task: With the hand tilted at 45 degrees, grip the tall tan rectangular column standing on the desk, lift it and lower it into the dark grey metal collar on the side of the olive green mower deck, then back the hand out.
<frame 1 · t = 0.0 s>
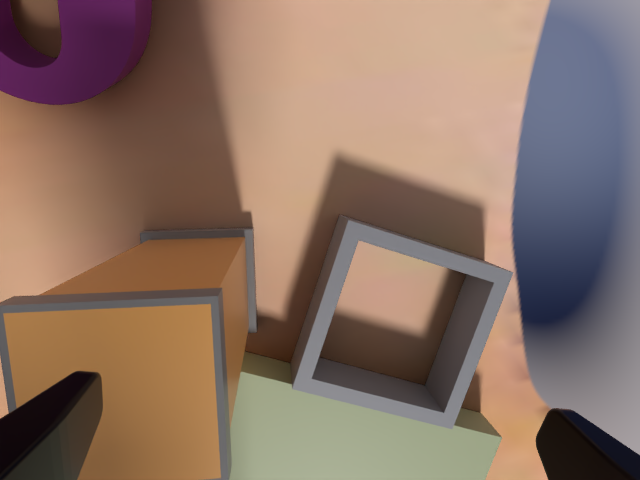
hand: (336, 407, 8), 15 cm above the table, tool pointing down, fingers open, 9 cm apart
tan rectangular column: (202, 280, 23), on the table
mower deck: (388, 311, 24), on the table
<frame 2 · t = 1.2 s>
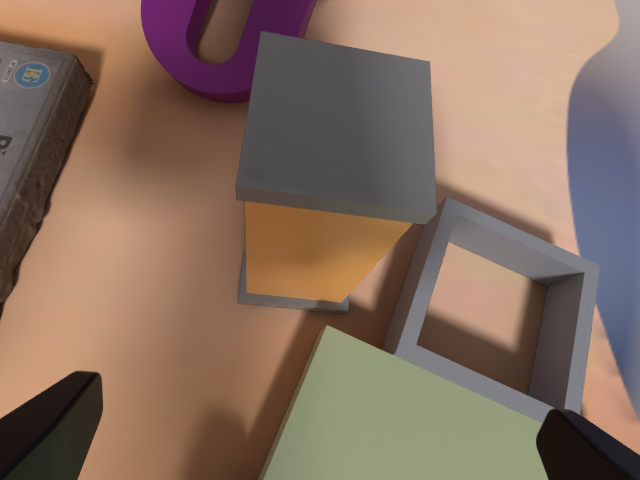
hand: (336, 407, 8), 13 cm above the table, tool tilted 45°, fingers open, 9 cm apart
tan rectangular column: (297, 258, 23), on the table
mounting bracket: (251, 16, 30), on the table
mower deck: (476, 317, 24), on the table
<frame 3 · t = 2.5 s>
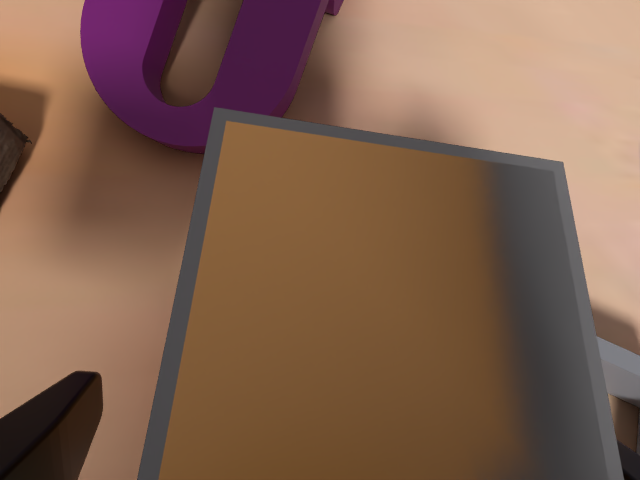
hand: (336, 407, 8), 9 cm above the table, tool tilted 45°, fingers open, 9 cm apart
tan rectangular column: (295, 380, 17), on the table
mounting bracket: (238, 35, 23), on the table
mower deck: (547, 461, 17), on the table
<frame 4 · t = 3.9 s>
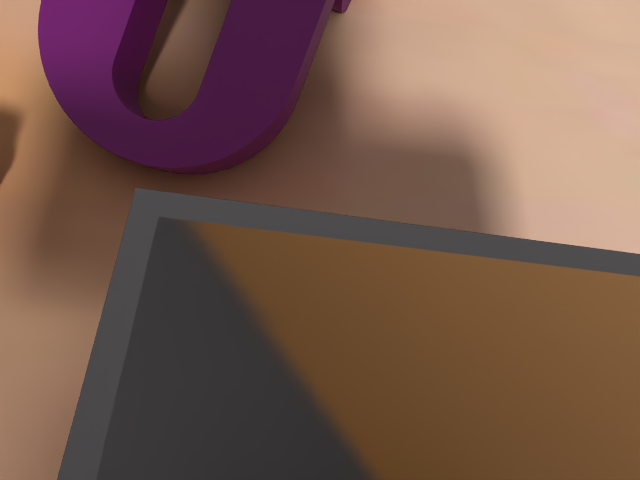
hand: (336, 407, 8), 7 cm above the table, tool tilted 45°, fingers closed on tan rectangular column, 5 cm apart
tan rectangular column: (295, 451, 14), on the table, touching gripper
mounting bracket: (232, 35, 20), on the table
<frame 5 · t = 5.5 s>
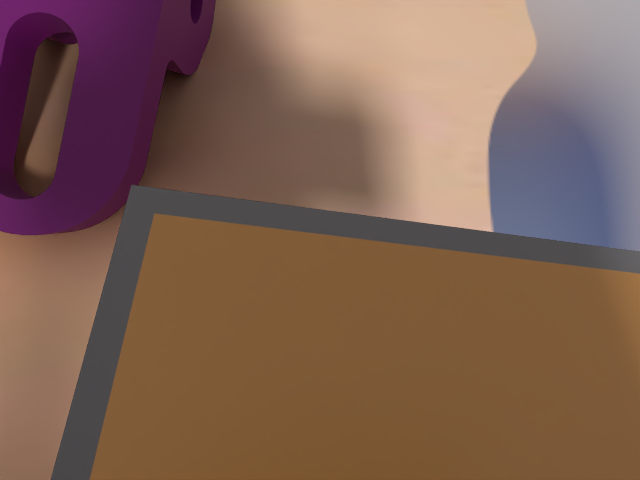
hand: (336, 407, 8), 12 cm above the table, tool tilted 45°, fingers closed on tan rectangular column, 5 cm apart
tan rectangular column: (294, 450, 14), point 6 cm above the table, touching gripper
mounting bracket: (99, 104, 24), on the table
when the fingers open (8 cm above the table, at t = 7.2 s): tan rectangular column drops 2 cm, resting in mower deck.
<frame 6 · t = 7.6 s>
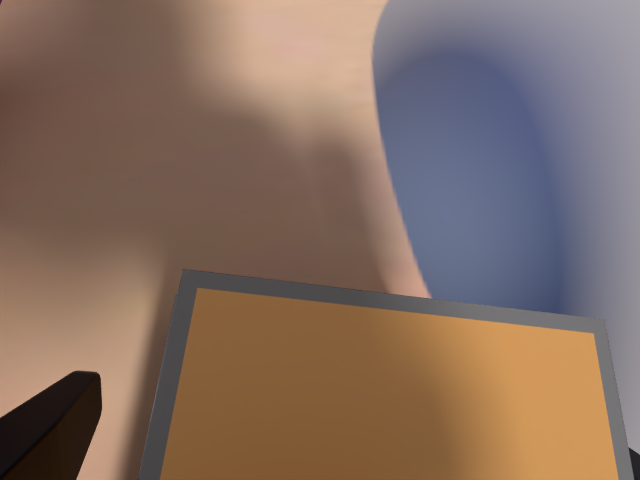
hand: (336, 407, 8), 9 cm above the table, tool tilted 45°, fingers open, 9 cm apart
tan rectangular column: (290, 445, 16), resting in mower deck
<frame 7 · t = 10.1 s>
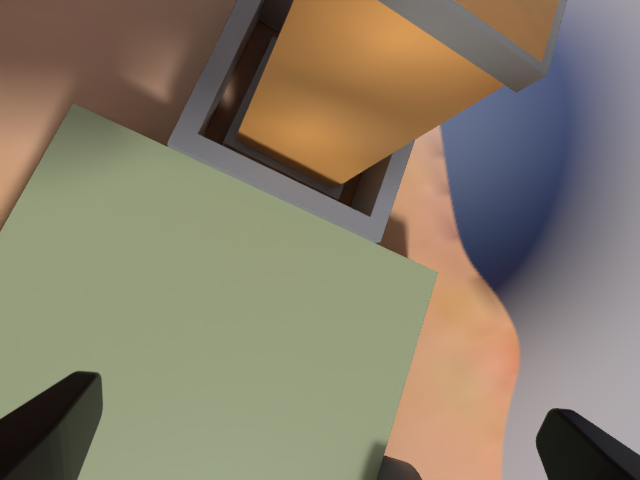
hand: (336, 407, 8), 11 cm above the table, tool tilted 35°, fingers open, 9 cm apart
tan rectangular column: (301, 124, 20), resting in mower deck
mower deck: (301, 124, 20), on the table
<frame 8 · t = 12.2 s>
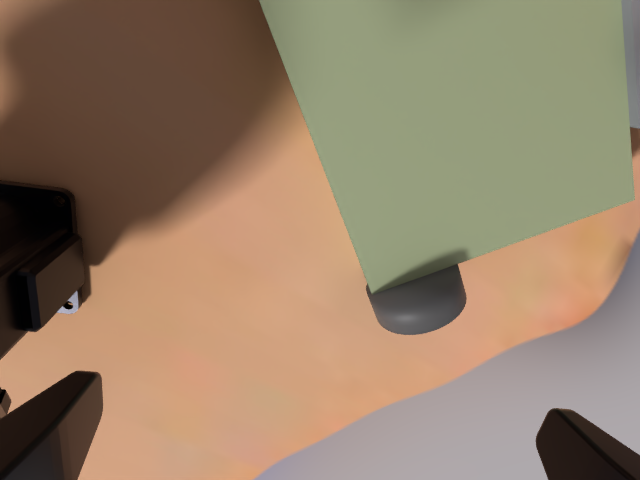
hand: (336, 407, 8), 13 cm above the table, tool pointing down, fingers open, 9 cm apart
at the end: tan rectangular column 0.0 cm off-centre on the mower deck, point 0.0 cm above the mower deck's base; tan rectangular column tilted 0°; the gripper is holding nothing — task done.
